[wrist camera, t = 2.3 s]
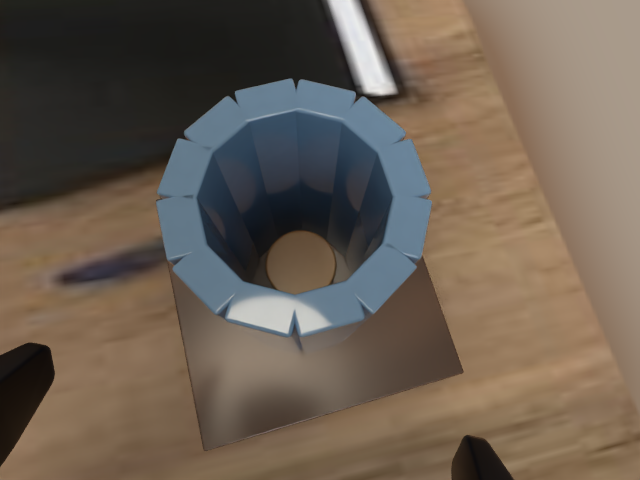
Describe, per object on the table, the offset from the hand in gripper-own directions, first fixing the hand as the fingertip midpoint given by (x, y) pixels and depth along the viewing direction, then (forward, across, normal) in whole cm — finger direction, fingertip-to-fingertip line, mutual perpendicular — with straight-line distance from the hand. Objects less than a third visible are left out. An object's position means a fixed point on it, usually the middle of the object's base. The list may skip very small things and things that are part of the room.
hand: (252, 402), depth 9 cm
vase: (+10, 0, +3) cm, 10 cm away
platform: (+11, 0, +5) cm, 12 cm away
